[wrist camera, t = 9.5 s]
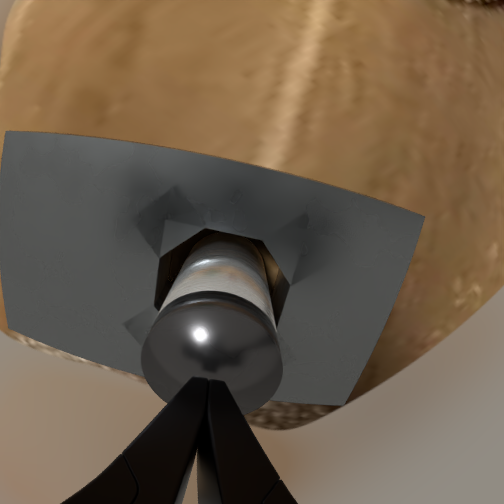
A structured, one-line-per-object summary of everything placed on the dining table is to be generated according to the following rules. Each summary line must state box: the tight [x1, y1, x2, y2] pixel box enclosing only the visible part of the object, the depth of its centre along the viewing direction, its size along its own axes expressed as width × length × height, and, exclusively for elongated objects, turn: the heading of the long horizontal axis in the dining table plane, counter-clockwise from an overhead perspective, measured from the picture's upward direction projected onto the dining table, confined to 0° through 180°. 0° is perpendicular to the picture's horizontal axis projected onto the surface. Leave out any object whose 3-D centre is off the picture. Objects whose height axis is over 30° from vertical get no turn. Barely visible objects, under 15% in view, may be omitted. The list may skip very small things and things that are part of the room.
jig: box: [0, 131, 425, 406], centre depth 14 cm, size 20×11×3 cm, turn 77°
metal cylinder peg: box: [141, 232, 283, 415], centre depth 12 cm, size 4×4×8 cm
